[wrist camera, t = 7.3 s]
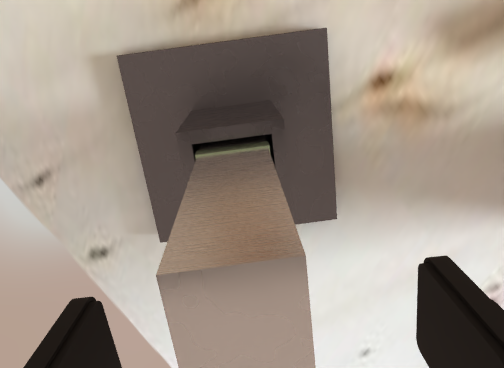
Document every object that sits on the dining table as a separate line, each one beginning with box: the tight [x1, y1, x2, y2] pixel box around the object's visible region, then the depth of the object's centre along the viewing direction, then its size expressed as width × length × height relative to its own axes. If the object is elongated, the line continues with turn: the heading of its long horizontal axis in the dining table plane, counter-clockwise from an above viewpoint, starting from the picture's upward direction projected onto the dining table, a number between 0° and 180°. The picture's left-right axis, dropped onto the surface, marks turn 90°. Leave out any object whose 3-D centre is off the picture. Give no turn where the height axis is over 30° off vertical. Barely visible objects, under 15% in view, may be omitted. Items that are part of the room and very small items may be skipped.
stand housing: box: [117, 28, 337, 242], centre depth 28 cm, size 16×16×10 cm
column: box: [156, 135, 315, 368], centre depth 18 cm, size 4×4×16 cm
